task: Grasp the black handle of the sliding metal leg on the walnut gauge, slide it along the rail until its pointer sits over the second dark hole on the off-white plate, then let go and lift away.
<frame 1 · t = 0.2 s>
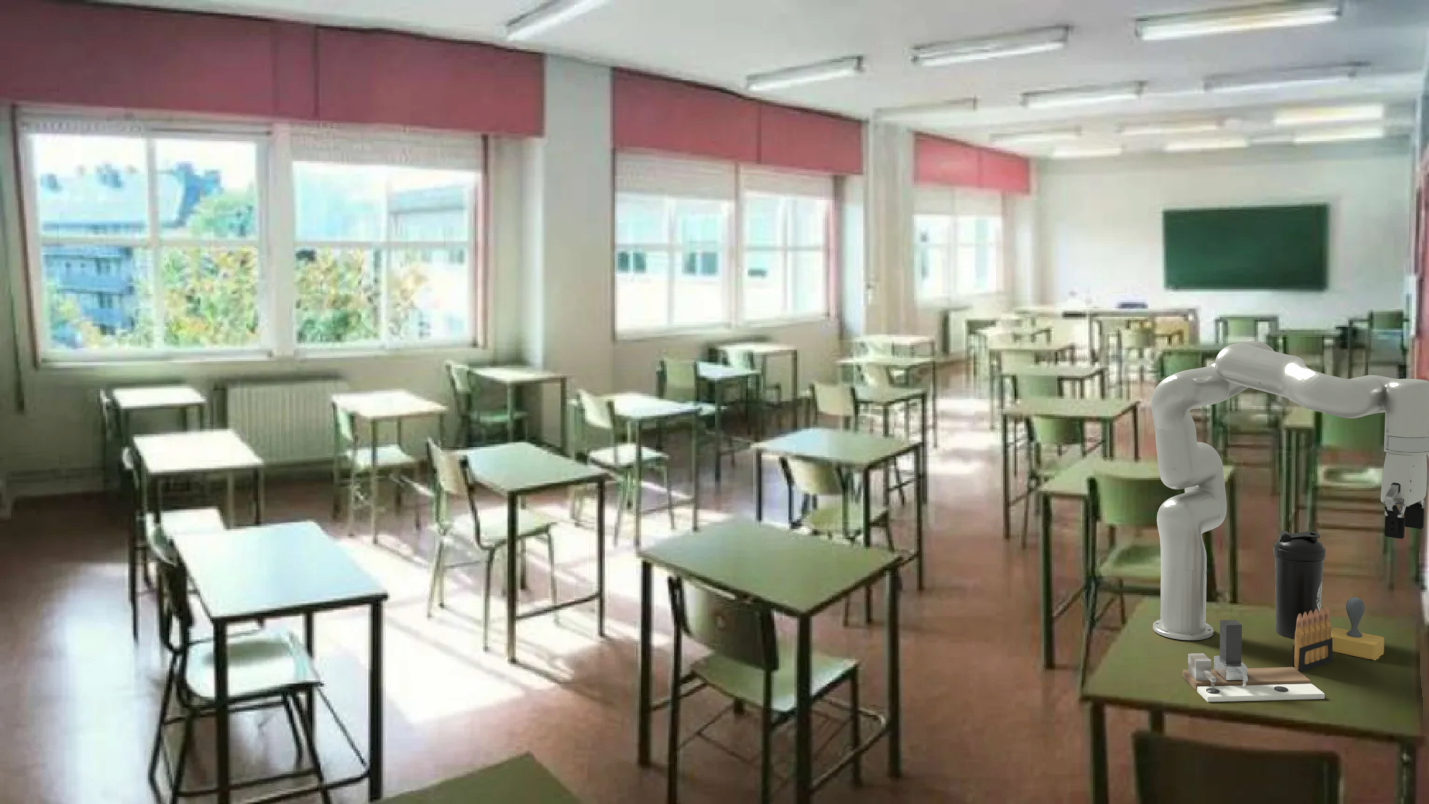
hand: (1404, 532, 209), 31 cm above the table, tool pointing down, fingers open, 9 cm apart
water bottle: (1297, 634, 245), on the table
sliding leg: (1234, 651, 216), point 7 cm above the table, slide at -3.0 cm
divider base: (1245, 682, 219), on the table
ammunition clip: (1312, 666, 226), on the table
rubber stamp: (1353, 653, 232), on the table
hole plate: (1259, 695, 212), on the table
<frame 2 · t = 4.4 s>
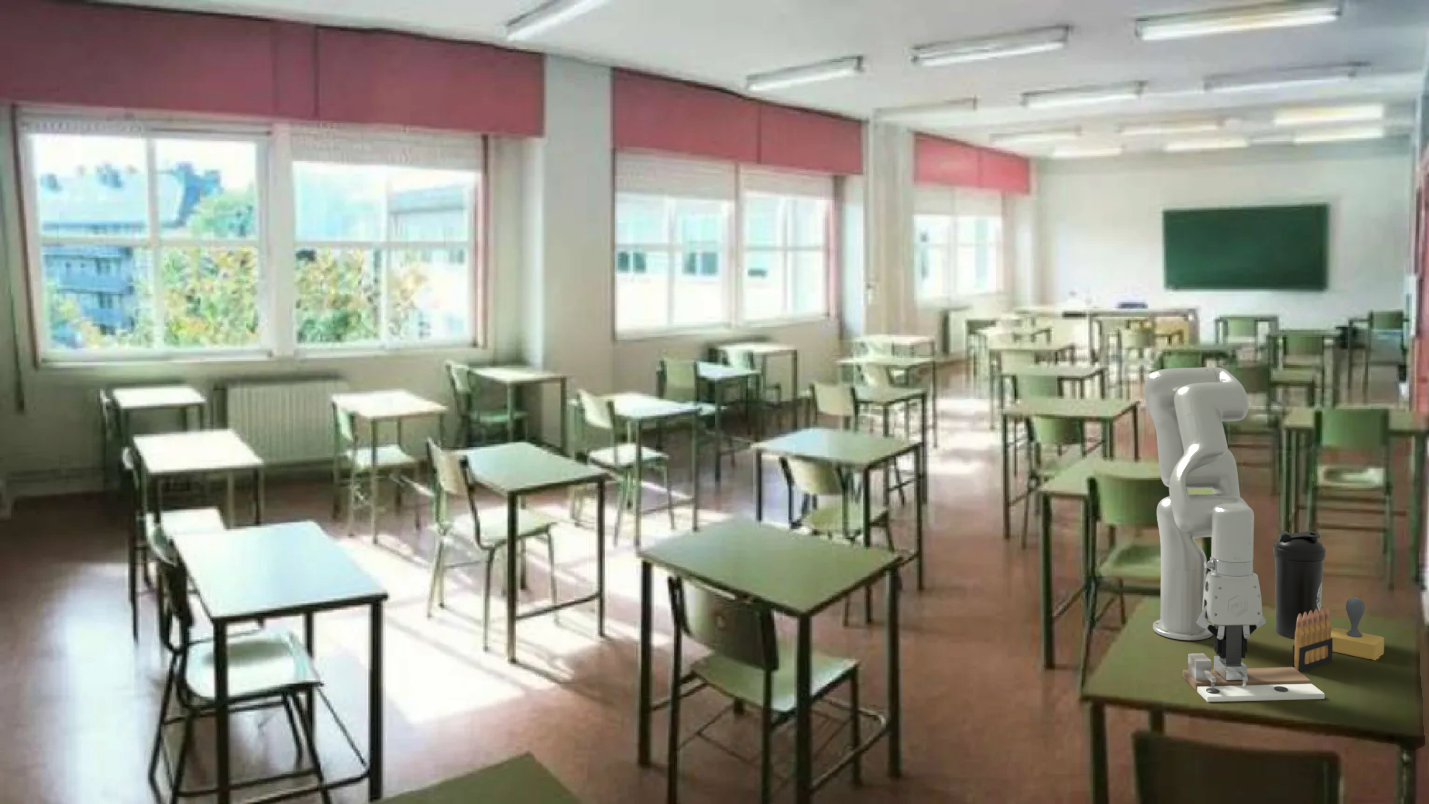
hand: (1230, 655, 218), 6 cm above the table, tool pointing down, fingers closed on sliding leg, 3 cm apart
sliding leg: (1234, 651, 216), point 7 cm above the table, slide at -3.0 cm, touching gripper
everything else where it was.
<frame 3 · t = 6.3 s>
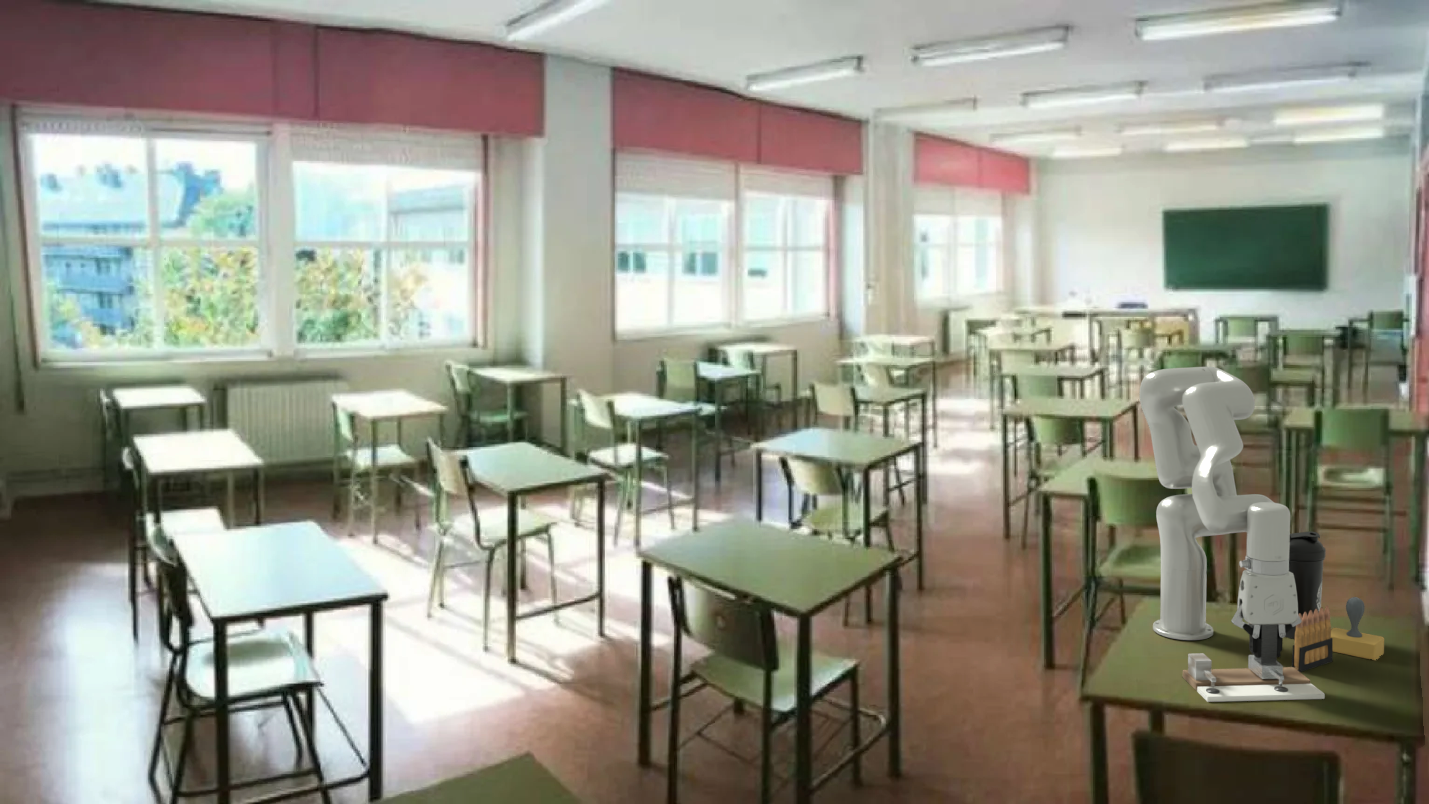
hand: (1265, 654, 218), 6 cm above the table, tool pointing down, fingers closed on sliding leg, 3 cm apart
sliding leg: (1270, 650, 216), point 7 cm above the table, slide at 3.9 cm, touching gripper
everything else where it was.
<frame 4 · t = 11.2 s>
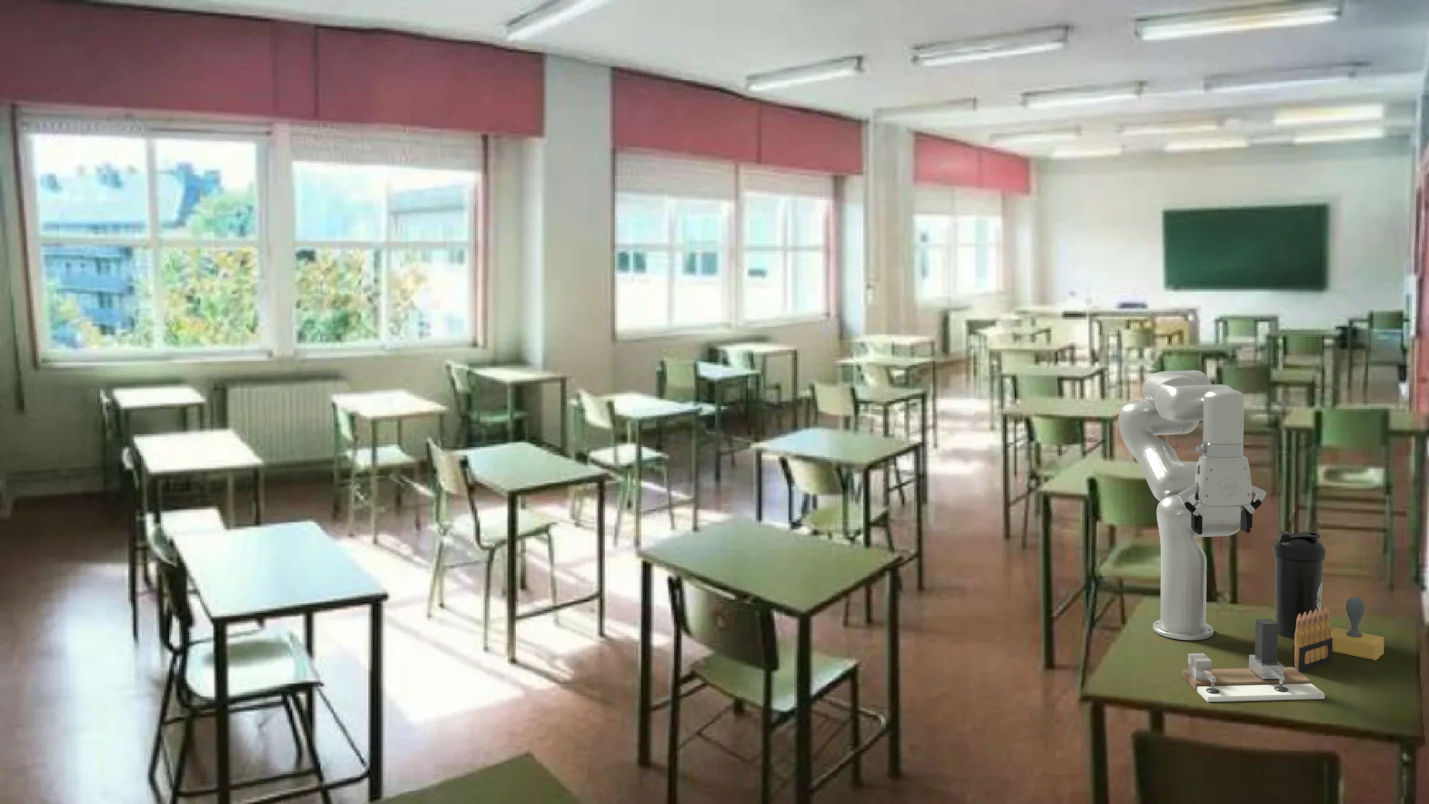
hand: (1221, 532, 225), 28 cm above the table, tool pointing down, fingers open, 9 cm apart
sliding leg: (1271, 650, 216), point 7 cm above the table, slide at 4.0 cm
everything else where it was.
at the end: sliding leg slide at 4.0 cm; the gripper is holding nothing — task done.
